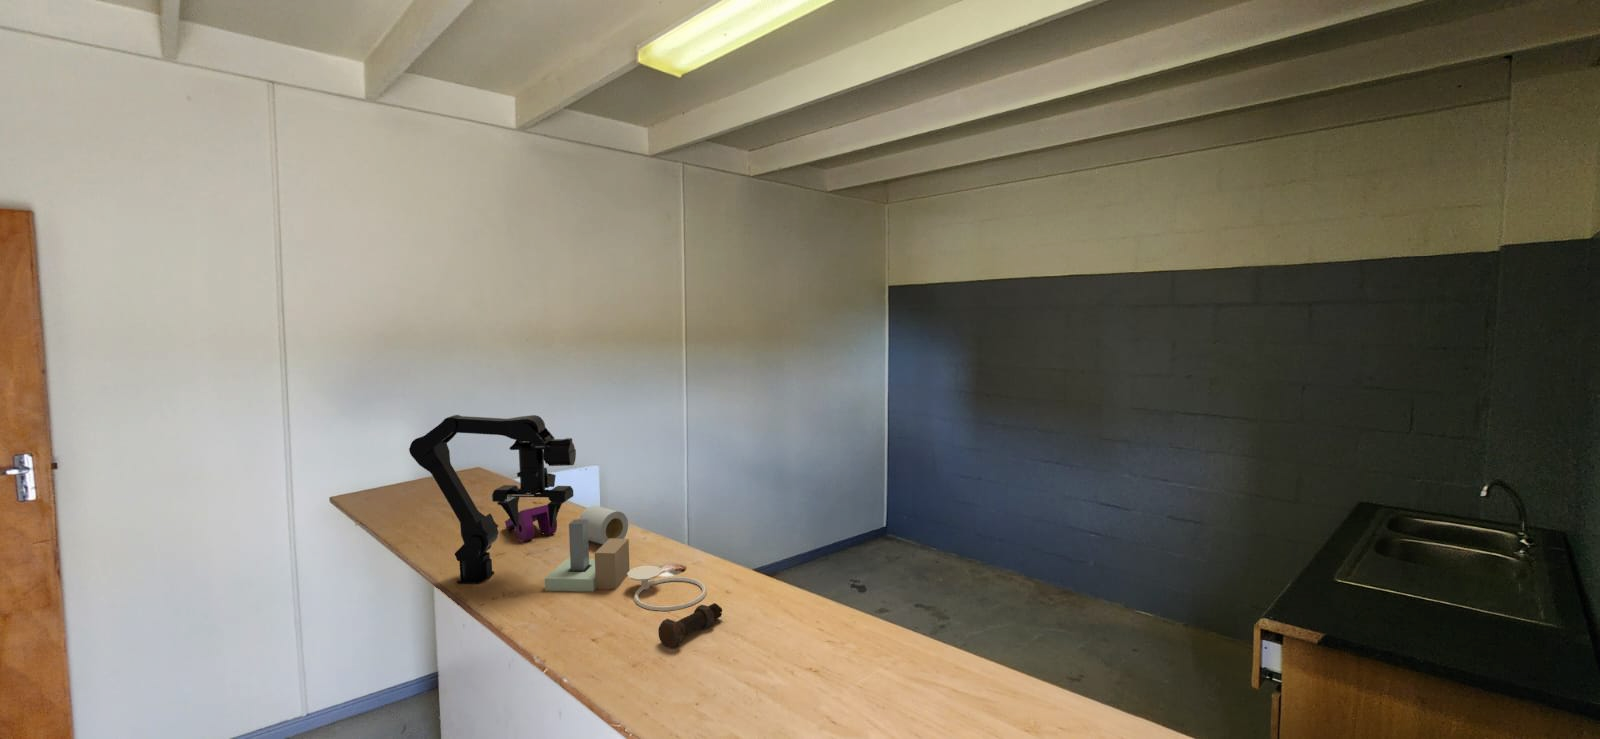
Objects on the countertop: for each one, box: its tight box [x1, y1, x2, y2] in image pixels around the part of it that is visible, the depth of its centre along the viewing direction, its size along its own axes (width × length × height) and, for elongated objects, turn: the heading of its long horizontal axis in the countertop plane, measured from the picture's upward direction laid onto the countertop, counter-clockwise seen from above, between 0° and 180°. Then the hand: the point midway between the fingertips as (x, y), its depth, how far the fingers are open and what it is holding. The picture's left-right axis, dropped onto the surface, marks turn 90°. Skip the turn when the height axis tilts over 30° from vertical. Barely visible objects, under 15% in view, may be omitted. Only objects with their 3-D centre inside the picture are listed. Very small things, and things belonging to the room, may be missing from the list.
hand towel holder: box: [627, 565, 708, 612], centre depth 154 cm, size 17×4×21 cm
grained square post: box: [568, 519, 590, 572], centre depth 162 cm, size 3×3×15 cm
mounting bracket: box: [504, 504, 558, 542], centre depth 197 cm, size 9×8×18 cm
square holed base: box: [544, 538, 631, 593], centre depth 162 cm, size 17×13×9 cm
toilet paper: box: [578, 505, 629, 546], centre depth 188 cm, size 10×10×10 cm
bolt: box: [657, 602, 723, 649], centre depth 135 cm, size 6×5×15 cm
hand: (534, 526), depth 163 cm, fingers open, 9 cm apart
